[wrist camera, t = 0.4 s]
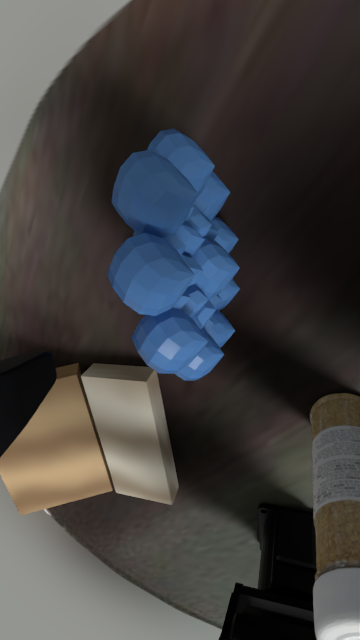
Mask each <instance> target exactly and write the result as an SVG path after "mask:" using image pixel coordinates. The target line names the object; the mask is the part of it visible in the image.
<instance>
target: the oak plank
mask: <svg viewBox="0 0 360 640" xmlns="http://www.w3.org/2000/svg"><path fill="white" fill-rule="evenodd" d="M56 372H57V379H56V382H55V384H54V385H53V387H52V388H51V390H50V391H49V393H48V394H47V396H46V397H45V399H44V400H43V402H42V403H41V405H40V406H39V408H38V409H37V411H36V412H35V414H34V415H33V417H32V418H31V420H30V421H29V422H28V424H27V425H26V427H25V428H24V429H23V430H22V432H21V433H20V434H19V435H18V437H17V438H16V439H15V440H14V442H13V443H12V444H11V445H10V447H9V448H8V449H7V450H6V451H5V453H4V454H3V455H2V456H1V458H0V475H1V477H2V479H3V481H4V483H5V485H6V487H7V489H8V491H9V493H10V495H11V497H12V499H13V501H14V503H15V505H16V507H17V509H18V511H19V513H20V515H24V514H27V513H31V512H35V511H38V510H42V509H46V508H50V507H53V506H57V505H61V504H65V503H68V502H72V501H76V500H80V499H83V498H87V497H91V496H94V495H98V494H102V493H106V492H109V491H113V485H112V477H111V474H110V470H109V467H108V464H107V461H106V457H105V454H104V451H103V448H102V444H101V441H100V438H99V434H98V431H97V428H96V425H95V421H94V418H93V415H92V412H91V408H90V405H89V402H88V398H87V395H86V392H85V389H84V385H83V382H82V379H81V375H82V373H81V370H80V366H79V363H76V364H71V365H67V366H62V367H58V368H56Z"/></svg>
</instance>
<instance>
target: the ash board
mask: <svg viewBox="0 0 360 640" xmlns="http://www.w3.org/2000/svg"><path fill="white" fill-rule="evenodd" d="M81 379H82V382H83V385H84V389H85V392H86V395H87V398H88V402H89V405H90V408H91V412H92V415H93V418H94V421H95V425H96V428H97V431H98V434H99V438H100V441H101V444H102V448H103V451H104V454H105V457H106V461H107V464H108V467H109V470H110V474H111V477H112V480H113V484H114V487H115V490H116V493H120V494H124V495H129V496H134V497H138V498H143V499H147V500H152V501H156V502H161V503H165V504H170V505H172V504H173V501H174V499H175V496H176V493H177V490H178V488H179V485H178V480H177V475H176V469H175V464H174V459H173V454H172V449H171V443H170V438H169V433H168V428H167V422H166V417H165V412H164V407H163V402H162V396H161V391H160V386H159V381H158V376H157V371H155V370H154V369H152V368H151V367H141V366H127V365H113V364H98V363H93V364H92V365H91V366H90V367H89V368H88V369H87V370H86V371H85V372H84V373H83V374H82V375H81Z"/></svg>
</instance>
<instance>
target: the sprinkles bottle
mask: <svg viewBox="0 0 360 640" xmlns="http://www.w3.org/2000/svg"><path fill="white" fill-rule="evenodd" d="M310 422H311V425H312V435H313V443H312V481H313V519H314V525H315V534H316V566H317V572H316V574H315V584H314V587H313V608H314V627H315V635H316V638H317V640H360V397H359V396H356V395H354V394H349V393H338V394H331V395H327V396H324V397H322V398H320V399H319V400H318V401H317V402H316V403H315V404H314V405H313V407H312V409H311V411H310Z"/></svg>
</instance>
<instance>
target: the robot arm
mask: <svg viewBox="0 0 360 640" xmlns="http://www.w3.org/2000/svg"><path fill="white" fill-rule="evenodd" d="M56 379H57V372H56V367H55V362H54V356H53V354H52V353H51V352H49V351H44V350H34V351H31V352H28V353H24V354H21V355H17V356H14V357H10V358H7V359H4V360H0V458H1V456H2V455H3V454H4V453H5V451H6V450H7V449H8V448H9V447H10V445H11V444H12V443H13V442H14V440H15V439H16V438H17V437H18V435H19V434H20V433H21V432H22V430H23V429H24V428H25V427H26V425H27V424H28V422H29V421H30V420H31V418H32V417H33V415H34V414H35V412H36V411H37V409H38V408H39V406H40V405H41V403H42V402H43V400H44V399H45V397H46V396H47V394H48V393H49V391H50V390H51V388H52V387H53V385H54V384H55V382H56ZM258 520H259V539H260V550H261V560H260V570H259V580H258V589H256V588H252V587H248V586H243V584H241V583H236V584H235V588H234V592H233V593H232V594H231V598H230V602H229V605H228V609H227V613H226V617H225V621H224V625H223V628H222V633H221V635H220V637H219V640H317V638H316V635H315V627H314V608H313V587H314V584H315V574H316V572H317V566H316V534H315V525H314V519H313V513H308V512H303V511H298V510H293V509H287V508H282V507H277V506H272V505H267V504H260V505H259V506H258Z"/></svg>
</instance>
